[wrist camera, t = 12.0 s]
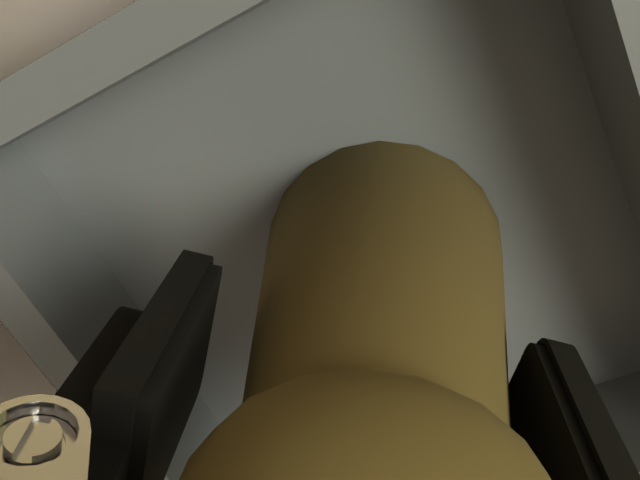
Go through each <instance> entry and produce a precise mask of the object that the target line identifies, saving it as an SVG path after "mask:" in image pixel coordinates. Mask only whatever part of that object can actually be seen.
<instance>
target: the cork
mask: <svg viewBox="0 0 640 480" xmlns="http://www.w3.org/2000/svg"><path fill="white" fill-rule="evenodd" d="M179 480H551V478H550V477H549V475H548V473H547V472H546V470H545V469H544V467H543V466H542V464H541V463H540V461H539V460H538V458H537V457H536V455H535V454H534V452H533V451H532V449H531V448H530V446H529V445H528V444H527V442H526V441H525V439H523V438H522V437H521V436H520V435H519V434H517V433H516V432H515V431H514V430H513V429H511V422H510V400H509V379H508V358H507V337H506V316H505V294H504V273H503V253H502V244H501V236H500V228H499V220H498V217H497V215H496V213H495V212H494V210H493V208H492V206H491V204H490V202H489V200H488V198H487V196H486V194H485V192H484V190H483V188H482V187H481V186H480V185H479V184H478V183H477V182H476V181H475V180H474V179H473V178H471V177H470V176H469V175H468V174H467V173H466V172H465V171H464V170H463V169H462V168H461V167H460V166H459V165H458V164H456V163H455V162H454V161H452V160H450V159H448V158H445V157H443V156H441V155H439V154H437V153H434V152H432V151H430V150H428V149H426V148H423V147H421V146H419V145H411V144H402V143H394V142H386V141H376V142H371V143H365V144H360V145H355V146H350V147H344V148H341V149H339V150H337V151H335V152H333V153H331V154H330V155H328V156H326V157H324V158H322V159H320V160H319V161H317V162H315V163H313V164H311V165H309V166H308V167H307V168H306V169H305V170H304V171H303V172H302V174H301V175H300V176H299V177H298V178H297V179H296V180H295V181H294V182H293V183H292V184H291V185H290V187H289V188H288V189H287V190H286V191H285V192H284V194H283V197H282V199H281V201H280V204H279V206H278V208H277V211H276V213H275V215H274V218H273V220H272V222H271V227H270V233H269V239H268V246H267V252H266V258H265V264H264V270H263V277H262V283H261V289H260V295H259V302H258V308H257V314H256V320H255V326H254V333H253V339H252V345H251V351H250V357H249V364H248V370H247V376H246V382H245V389H244V395H243V401H242V404H241V405H240V406H239V407H238V408H237V409H236V410H235V411H233V412H232V413H231V414H230V415H229V416H228V417H227V418H226V419H225V420H224V421H222V422H221V423H220V424H219V425H218V426H217V427H216V428H215V429H214V430H213V431H212V432H211V433H210V434H209V435H208V436H207V438H206V439H205V440H204V441H203V442H202V443H201V445H200V446H199V447H198V448H197V449H196V450H195V452H194V453H193V454H192V455H191V456H190V457H189V459H188V461H187V463H186V465H185V467H184V470H183V472H182V474H181V476H180V478H179Z"/></svg>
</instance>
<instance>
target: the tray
mask: <svg viewBox="0 0 640 480" xmlns="http://www.w3.org/2000/svg"><path fill="white" fill-rule="evenodd" d="M376 141H386V142H394V143H402V144H411V145H419V146H421V147H423V148H426V149H428V150H430V151H432V152H434V153H437V154H439V155H441V156H443V157H445V158H448V159H450V160H452V161H454V162H455V163H456V164H458V165H459V166H460V167H461V168H462V169H463V170H464V171H465V172H466V173H467V174H468V175H469V176H470V177H471V178H473V179H474V180H475V181H476V182H477V183H478V184H479V185H480V186H481V187H482V188H483V190H484V192H485V194H486V196H487V198H488V200H489V202H490V204H491V206H492V208H493V210H494V212H495V213H496V215H497V217H498V220H499V228H500V236H501V244H502V253H503V273H504V294H505V316H506V337H507V358H508V379H509V382H510V380H511V378H512V376H513V373H514V371H515V369H516V367H517V365H518V363H519V361H520V359H521V356H522V354H523V352H524V350H525V348H526V346H527V345H528V344H529V343H535V344H536V343H537V342H538V341H539V340H540V339H541V338H547V339H551V340H555V341H559V342H563V343H567V344H571V345H574V346H575V348H576V349H577V351H578V353H579V355H580V357H581V359H582V361H583V363H584V365H585V367H586V369H587V371H588V373H589V375H590V377H591V379H592V381H593V383H594V385H595V387H596V389H597V391H598V393H599V395H600V397H601V399H602V401H603V403H604V405H605V407H606V409H607V410H608V412H609V414H610V416H611V418H612V420H613V422H614V424H615V426H616V428H617V430H618V432H619V434H620V436H621V438H622V440H623V442H624V444H625V446H626V448H627V450H628V452H629V454H630V456H631V458H632V460H633V462H634V464H635V466H636V468H637V470H638V472H639V474H640V0H137V1H136V2H134V3H132V4H130V5H129V6H127V7H125V8H124V9H122V10H120V11H119V12H117V13H115V14H114V15H112V16H110V17H108V18H107V19H105V20H103V21H102V22H100V23H98V24H97V25H95V26H93V27H92V28H90V29H88V30H86V31H85V32H83V33H81V34H80V35H78V36H76V37H75V38H73V39H71V40H70V41H68V42H66V43H64V44H63V45H61V46H59V47H58V48H56V49H54V50H53V51H51V52H49V53H47V54H46V55H44V56H42V57H41V58H39V59H37V60H36V61H34V62H32V63H31V64H29V65H27V66H25V67H24V68H22V69H20V70H19V71H17V72H15V73H14V74H12V75H10V76H9V77H7V78H5V79H3V80H2V81H0V321H1V322H2V324H3V325H4V326H5V327H6V328H7V330H8V331H9V332H10V333H11V335H12V336H13V337H14V338H15V340H16V341H17V342H18V343H19V344H20V346H21V347H22V348H23V349H24V351H25V352H26V353H27V354H28V356H29V357H30V358H31V359H32V361H33V362H34V363H35V364H36V365H37V367H38V368H39V369H40V370H41V372H42V373H43V374H44V375H45V377H46V378H47V379H48V380H49V381H50V383H51V384H52V385H53V386H54V388H55V389H56V390H57V391H58V390H59V388H60V387H61V385H62V384H63V383H64V381H65V380H66V379H67V377H68V376H69V375H70V373H71V372H72V370H73V369H74V368H75V366H76V365H77V364H78V362H79V361H80V359H81V358H82V357H83V355H84V354H85V353H86V351H87V350H88V348H89V347H90V346H91V344H92V343H93V342H94V340H95V339H96V337H97V336H98V335H99V333H100V332H101V331H102V329H103V328H104V326H105V325H106V324H107V322H108V321H109V320H110V318H111V317H112V315H113V314H114V313H115V311H116V310H117V309H118V308H119V307H121V306H125V307H129V308H133V309H137V310H141V311H144V309H145V308H146V306H147V305H148V303H149V301H150V300H151V298H152V297H153V295H154V294H155V292H156V291H157V289H158V288H159V286H160V285H161V283H162V281H163V280H164V278H165V277H166V275H167V274H168V272H169V271H170V269H171V268H172V266H173V265H174V263H175V262H176V260H177V258H178V257H179V255H180V254H181V252H182V251H183V250H189V251H193V252H197V253H201V254H205V255H209V256H213V258H214V259H213V264H214V265H218V266H222V276H221V281H220V286H219V292H218V297H217V303H216V308H215V313H214V319H213V324H212V330H211V335H210V341H209V346H208V351H207V357H206V362H205V368H204V373H203V378H202V383H201V387H200V390H199V393H198V396H197V399H196V401H195V404H194V406H193V409H192V411H191V414H190V416H189V419H188V421H187V424H186V426H185V429H184V431H183V434H182V436H181V439H180V441H179V444H178V446H177V449H176V451H175V454H174V456H173V458H172V461H171V463H170V466H169V468H168V471H167V473H166V476H165V478H164V480H179V478H180V476H181V474H182V472H183V470H184V467H185V465H186V463H187V461H188V459H189V457H190V456H191V455H192V454H193V453H194V452H195V450H196V449H197V448H198V447H199V446H200V445H201V443H202V442H203V441H204V440H205V439H206V438H207V436H208V435H209V434H210V433H211V432H212V431H213V430H214V429H215V428H216V427H217V426H218V425H219V424H220V423H221V422H222V421H224V420H225V419H226V418H227V417H228V416H229V415H230V414H231V413H232V412H233V411H235V410H236V409H237V408H238V407H239V406H240V405H241V404H242V401H243V395H244V389H245V382H246V376H247V370H248V364H249V357H250V351H251V345H252V339H253V333H254V326H255V320H256V314H257V308H258V302H259V295H260V289H261V283H262V277H263V270H264V264H265V258H266V252H267V246H268V239H269V233H270V227H271V222H272V220H273V218H274V215H275V213H276V211H277V208H278V206H279V204H280V201H281V199H282V197H283V194H284V192H285V191H286V190H287V189H288V188H289V187H290V185H291V184H292V183H293V182H294V181H295V180H296V179H297V178H298V177H299V176H300V175H301V174H302V172H303V171H304V170H305V169H306V168H307V167H308V166H309V165H311V164H313V163H315V162H317V161H319V160H320V159H322V158H324V157H326V156H328V155H330V154H331V153H333V152H335V151H337V150H339V149H341V148H344V147H350V146H355V145H360V144H365V143H371V142H376Z"/></svg>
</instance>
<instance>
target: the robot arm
mask: <svg viewBox="0 0 640 480" xmlns="http://www.w3.org/2000/svg"><path fill="white" fill-rule="evenodd" d="M213 259H214V258H213V256H209V255H205V254H201V253H197V252H193V251H189V250H183V251H182V252H181V254H180V255H179V257H178V258H177V260H176V262H175V263H174V265H173V266H172V268H171V269H170V271H169V272H168V274H167V275H166V277H165V278H164V280H163V281H162V283H161V285H160V286H159V288H158V289H157V291H156V292H155V294H154V295H153V297H152V298H151V300H150V301H149V303H148V305H147V306H146V308H145V309H144V311H141V310H137V309H133V308H129V307H125V306H121V307H119V308H118V309H117V310H116V311H115V313H114V314H113V315H112V317H111V318H110V320H109V321H108V322H107V324H106V325H105V326H104V328H103V329H102V331H101V332H100V333H99V335H98V336H97V337H96V339H95V340H94V342H93V343H92V344H91V346H90V347H89V348H88V350H87V351H86V353H85V354H84V355H83V357H82V358H81V359H80V361H79V362H78V364H77V365H76V366H75V368H74V369H73V370H72V372H71V373H70V375H69V376H68V377H67V379H66V380H65V381H64V383H63V384H62V385H61V387H60V388H59V390H58V391H57V392H56V394H55V395H45V394H36V395H26V396H20V397H17V398H14V399H11V400H7V401H5V402H3V403H1V404H0V480H164V478H165V476H166V473H167V471H168V468H169V466H170V463H171V461H172V458H173V456H174V454H175V451H176V449H177V446H178V444H179V441H180V439H181V436H182V434H183V431H184V429H185V426H186V424H187V421H188V419H189V416H190V414H191V411H192V409H193V406H194V404H195V401H196V399H197V396H198V393H199V390H200V387H201V383H202V378H203V373H204V368H205V362H206V357H207V351H208V346H209V341H210V335H211V330H212V324H213V319H214V313H215V308H216V303H217V297H218V292H219V286H220V281H221V276H222V266H218V265H214V264H213ZM509 400H510V422H511V429H513V430H514V431H515V432H516V433H517V434H519V435H520V436H521V437H522V438H523V439H525V441H526V442H527V444H528V445H529V446H530V448H531V449H532V451H533V452H534V454H535V455H536V457H537V458H538V460H539V461H540V463H541V464H542V466H543V467H544V469H545V470H546V472H547V473H548V475H549V477H550V478H551V480H640V474H639V472H638V470H637V468H636V466H635V464H634V462H633V460H632V458H631V456H630V454H629V452H628V450H627V448H626V446H625V444H624V442H623V440H622V438H621V436H620V434H619V432H618V430H617V428H616V426H615V424H614V422H613V420H612V418H611V416H610V414H609V412H608V410H607V409H606V407H605V405H604V403H603V401H602V399H601V397H600V395H599V393H598V391H597V389H596V387H595V385H594V383H593V381H592V379H591V377H590V375H589V373H588V371H587V369H586V367H585V365H584V363H583V361H582V359H581V357H580V355H579V353H578V351H577V349H576V348H575V346H574V345H571V344H567V343H563V342H559V341H555V340H551V339H547V338H541V339H540V340H539V341H538V342H537V343H536V344H535V343H529V344H528V345H527V346H526V348H525V350H524V352H523V354H522V356H521V359H520V361H519V363H518V365H517V367H516V369H515V371H514V373H513V376H512V378H511V380H510V382H509Z"/></svg>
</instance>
